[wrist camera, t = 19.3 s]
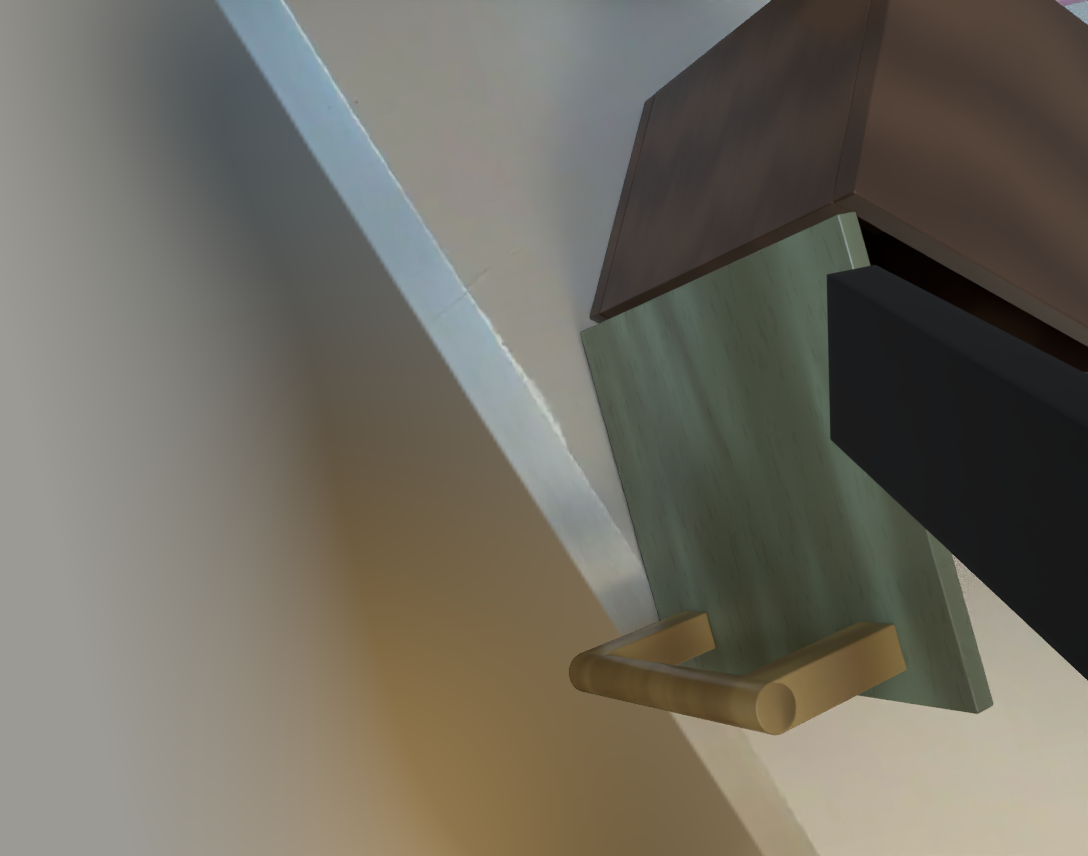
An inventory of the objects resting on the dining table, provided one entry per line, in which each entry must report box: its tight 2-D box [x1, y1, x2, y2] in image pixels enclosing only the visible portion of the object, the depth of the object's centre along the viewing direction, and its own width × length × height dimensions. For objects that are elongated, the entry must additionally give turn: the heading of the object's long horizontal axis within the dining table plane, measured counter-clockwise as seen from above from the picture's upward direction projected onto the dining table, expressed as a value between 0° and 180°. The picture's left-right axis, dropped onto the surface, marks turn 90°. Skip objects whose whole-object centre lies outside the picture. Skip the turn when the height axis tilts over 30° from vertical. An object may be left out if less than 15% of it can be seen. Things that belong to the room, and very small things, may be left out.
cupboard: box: [590, 0, 1088, 372], centre depth 42 cm, size 12×16×17 cm
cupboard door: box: [569, 212, 993, 735], centre depth 36 cm, size 7×16×17 cm, turn 17°
